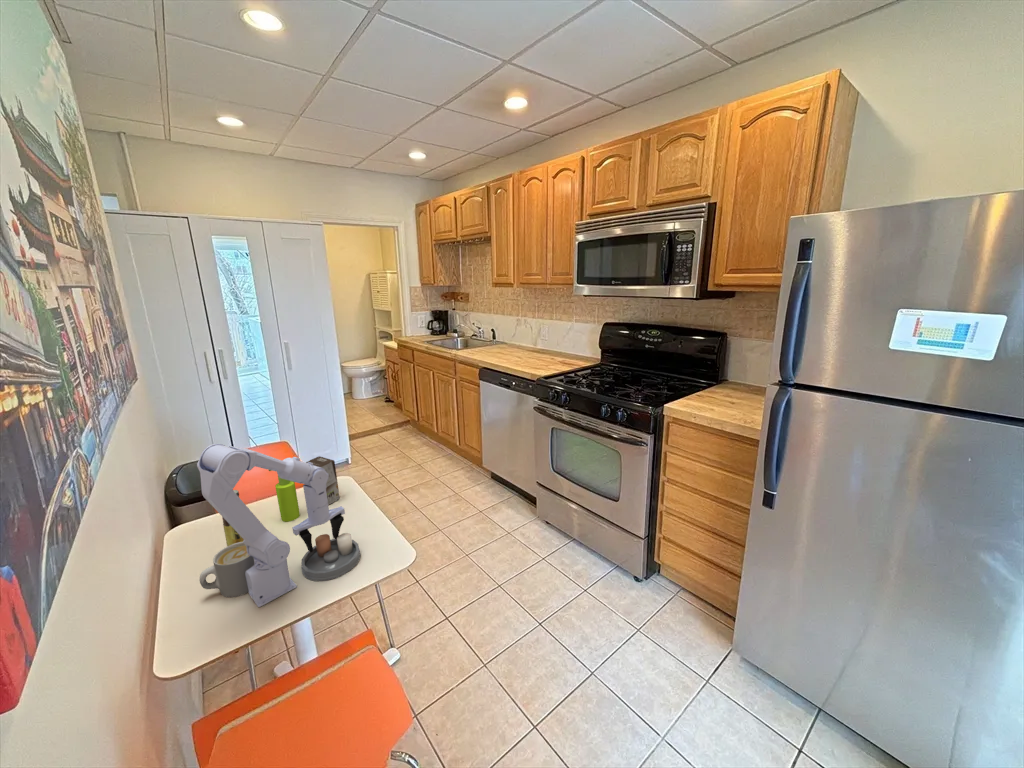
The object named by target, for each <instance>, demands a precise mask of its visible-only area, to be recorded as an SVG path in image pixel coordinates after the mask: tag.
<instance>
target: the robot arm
mask: <svg viewBox="0 0 1024 768" xmlns="http://www.w3.org/2000/svg"><path fill="white" fill-rule="evenodd" d="M307 462H308V461H307ZM196 467H197V469H198V471H199V475H200V485H201V486H200V487H201V494H202V496H203V498H204V499H205V500H206V501H207V502H208V503H209V504H210V506H211V507H212V508H214V509H215V511H217V513H218V514H219V515H220V516H221V517H223V518H224V519H225V520H226V521H227V522H228V523H229V524H230V525H231V526H232V527H233V528H234V530H235V531H236V532H237V533H238V534H239V535H240V536H241V537H242V538H243V539H244V541H243V543H244V544H245V545H246V549H247V553H248V555H250V556H252V557H253V558H254V566H252V567H251V568H250V569H248V570H247V571H245V575H246V580H247V585H248V590H249V592H248V595H249V596H250V598H251V599H252V600H253V602H254V603H255V605H256V607H258V608H260V607H263V606H264V605H266V604H269V603H271V602H272V601H274V600H275V599H277V598H279V597H281V596H283V595H285V594H287V593H289V592H290V591H292V590H295V589H296V588H297V586H298V585H297V584H296V583H295V582H294V580H293V579H292V578H291V576H290V570H289V564H288V559H287V558H288V557H289V555H290V552H291V551H290V550H291V547H290V544H289V543H288V542H287V541H284V540H282V539H279V537H278V536H277V535H275V534H273V533H272V532H271V531H269V530H268V529H267V528H266V527H265V525H264V524H263V523H262V522H261V521H260V520H259V519H258V518H257V516H256V515H255V514H254V512H252V511H251V509H250V508H249V507H248V506H247V504H245V502H244V501H243V500H242V499H241V498H240V496H239V497H238V496H237V494H236V493H235V492H234V491H233V490H234V488H235V487H236V485H237V484H238V483H239V481H240V479H241V478H242V477H243V475H244V474H245V472H246V471H250V472H251V470H253V468H255V467H256V468H260V469H264V470H272V471H271V472H276V474H277V477H278V476H279V477H280V478H282V479H285V480H289V481H293V482H295V483H297V484H303V485H302V487H303V493H304V499H305V507H306V512H307V518H306V519H303V521H301V522H299V523H298V524H296V525H294V526H292V532H293V535H295V536H298V535H299V537H300V538H301V539H302V541H303V543H304V544H305V545H306V548H307V551H310V552H313V547H314V546H313V543H312V542H313V541H312V540H313V539H312V538H313V537H312V535H313V534H312V533H311V532H310V530H309V529H312V528H313V527H318V526H322V525H324V524H326V523H328V522H330V523H329V524H330V525H331V533H332V539H336V540H337V537H338V536H339V535H340V531H341V527H342V524H343V522H344V519H345V518H344V516H343V515H346V512H345V508H344V507H343V506H337V507H335V508H331V509H330V507H329V505H328V500H327V493H326V488H327V487H326V483H327V480H328V477H329V474H327V472H326V471H325V469H324V468H321V467H317V466H314V465H313V463H310V462H308V463H306V462H305V461H301V457H300V458H299V457H296V456H292V457H286V458H284V459H279V458H276V457H273V456H271V455H270V456H269V455H267V454H265V453H262V452H260V451H256V450H252V449H249V448H244V447H237V446H234V445H233V446H231V445H228V446H226V445H225V444H222V443H213V444H210V445H208V446H207V447H206V448H204V450H202V452H201V453H200V456H199V459H198V461H197V463H196Z"/></svg>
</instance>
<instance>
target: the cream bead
mask: <svg viewBox="0 0 1024 768" xmlns="http://www.w3.org/2000/svg"><path fill="white" fill-rule="evenodd" d="M352 540H353V539H352V534H351V533H350V532H345V533H341V534H339V536H338V537H337V543H338V550H339V554H340V555H342V556H345V555H348V554H350V553H352V551H353V545H352Z"/></svg>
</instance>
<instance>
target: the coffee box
mask: <svg viewBox="0 0 1024 768" xmlns="http://www.w3.org/2000/svg"><path fill="white" fill-rule="evenodd" d="M308 462H310V463H313V465H314V466H317V467H321V468H324V469H325V471H326V472H327V474H329V477H328V480H327V483H326V487H327V488H326V493H327V500H328V506H329V504H330V505H331V504H334V503H335V502H337V501H338V500H340V499H341V497H340V491H339V483H338V477H337V470H336V468H337V467H336V464H335V463H336V462H335V460H334V459H330V458H327V457H323V456H320V455H319V456H316V457H314V458H312V459H310V460H308V461H306V462H305V463H308ZM339 498H340V499H339ZM337 499H338V500H337ZM336 500H337V501H336ZM334 501H335V502H334Z"/></svg>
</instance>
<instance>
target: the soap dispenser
mask: <svg viewBox="0 0 1024 768" xmlns="http://www.w3.org/2000/svg"><path fill="white" fill-rule="evenodd" d="M267 470H268V469H267ZM268 471H269V472H273V471H272V470H268ZM277 479H278V483H277V484H275V491H276V497H277V503H278V509H279V515H280V519H281V520H280V521H282V522H284V523H289V522H293V521H295V520H297V519H298V518H300V516H301V513H300V506H299V502H298V501H299V499H298V495H297V490H296V482H293V481H289V480H285V479H282V478H280V477H279V476H278V475H277Z"/></svg>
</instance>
